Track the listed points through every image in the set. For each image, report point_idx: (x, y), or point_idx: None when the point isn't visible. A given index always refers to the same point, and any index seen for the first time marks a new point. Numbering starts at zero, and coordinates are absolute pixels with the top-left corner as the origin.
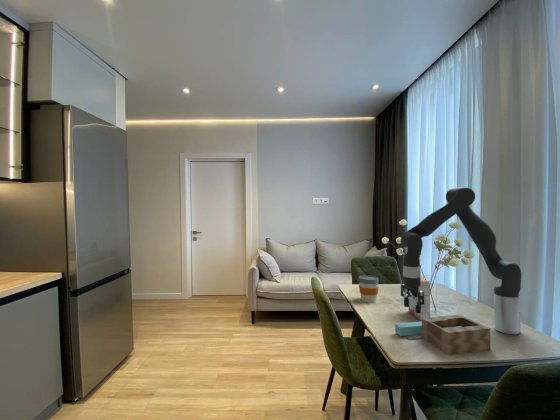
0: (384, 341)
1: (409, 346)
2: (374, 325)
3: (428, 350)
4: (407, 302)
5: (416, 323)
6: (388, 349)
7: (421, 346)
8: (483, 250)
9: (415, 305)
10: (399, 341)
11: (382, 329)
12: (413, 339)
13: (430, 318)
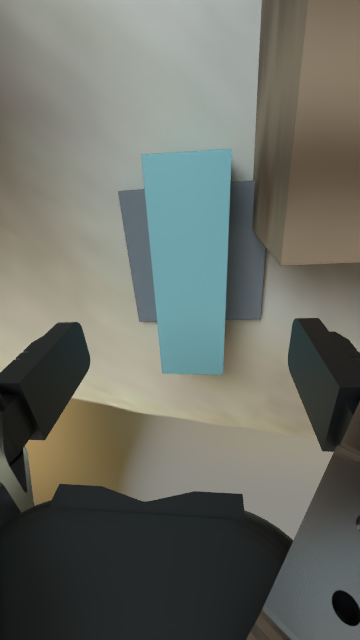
0: (239, 416)
1: None
2: None
3: None
4: (56, 371)
5: (177, 234)
6: (307, 433)
7: (343, 299)
8: None
9: (318, 439)
10: (257, 365)
11: (119, 370)
12: (260, 293)
13: (329, 165)
